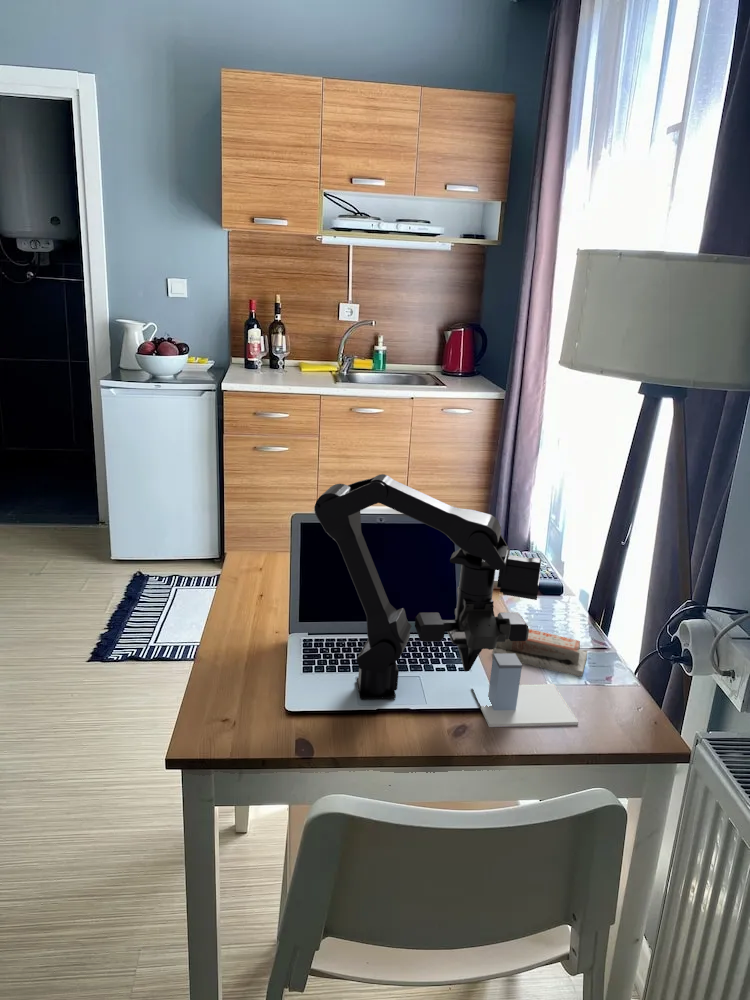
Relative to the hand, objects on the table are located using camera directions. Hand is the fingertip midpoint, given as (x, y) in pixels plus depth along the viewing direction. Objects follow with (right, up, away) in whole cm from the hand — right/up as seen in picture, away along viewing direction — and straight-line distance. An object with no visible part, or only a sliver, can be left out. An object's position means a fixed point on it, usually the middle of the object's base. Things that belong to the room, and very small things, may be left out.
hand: (466, 670), depth 133 cm
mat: (+11, -7, +4) cm, 14 cm away
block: (+7, -7, +3) cm, 10 cm away
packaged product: (+18, -3, +22) cm, 29 cm away
